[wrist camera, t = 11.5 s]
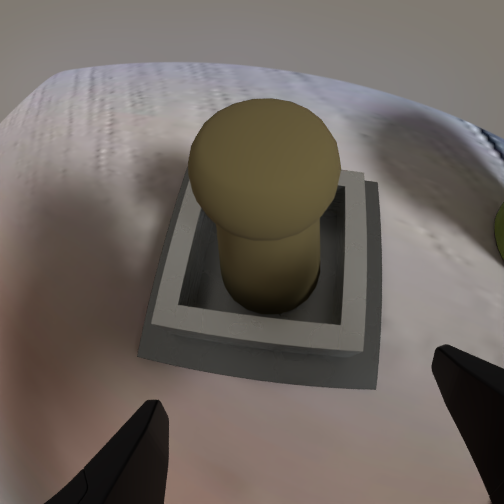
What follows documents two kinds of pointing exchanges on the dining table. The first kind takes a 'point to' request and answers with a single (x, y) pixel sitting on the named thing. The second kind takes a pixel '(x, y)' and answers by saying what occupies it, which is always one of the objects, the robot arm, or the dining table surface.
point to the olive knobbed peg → (266, 198)
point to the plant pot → (500, 230)
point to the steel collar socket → (273, 325)
